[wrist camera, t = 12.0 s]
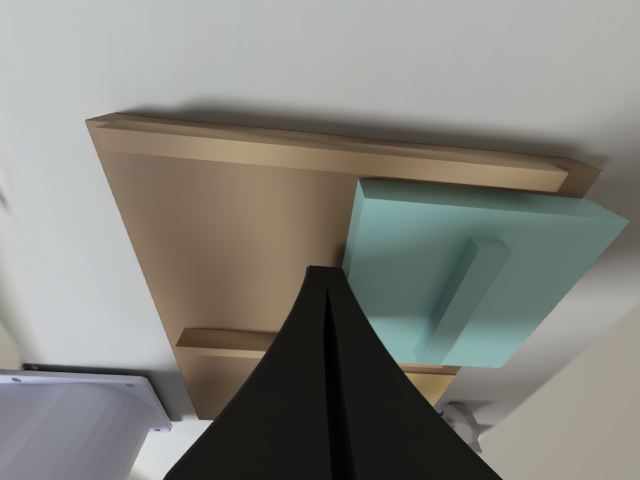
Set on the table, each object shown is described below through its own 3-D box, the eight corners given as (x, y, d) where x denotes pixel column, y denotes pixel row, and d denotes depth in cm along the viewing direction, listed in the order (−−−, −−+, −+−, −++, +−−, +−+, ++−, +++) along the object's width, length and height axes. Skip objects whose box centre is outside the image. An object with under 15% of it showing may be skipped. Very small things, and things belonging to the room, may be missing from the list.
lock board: (204, 401, 20) (188, 450, 17) (110, 109, 9) (25, 130, 6) (411, 411, 21) (423, 458, 18) (573, 156, 9) (664, 190, 7)
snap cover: (330, 330, 13) (331, 372, 11) (358, 178, 9) (367, 208, 7) (484, 340, 14) (508, 381, 12) (588, 199, 9) (650, 232, 7)
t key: (413, 397, 19) (384, 421, 23) (421, 437, 18) (389, 456, 21) (496, 408, 20) (457, 429, 24) (513, 446, 19) (467, 463, 22)
